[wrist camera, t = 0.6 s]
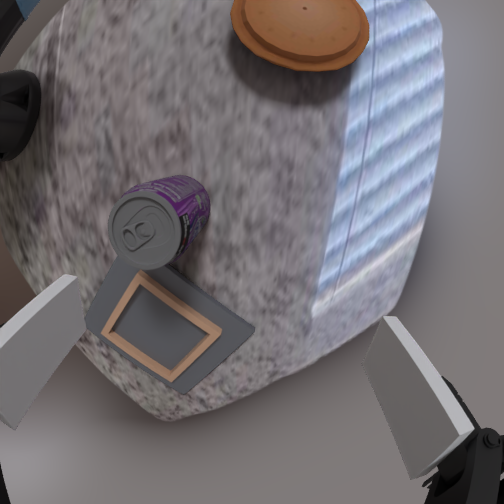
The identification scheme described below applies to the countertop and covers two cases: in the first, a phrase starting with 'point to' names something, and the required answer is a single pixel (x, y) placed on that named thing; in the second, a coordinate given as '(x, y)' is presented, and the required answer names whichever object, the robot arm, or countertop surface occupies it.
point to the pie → (302, 32)
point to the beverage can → (158, 221)
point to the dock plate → (164, 324)
